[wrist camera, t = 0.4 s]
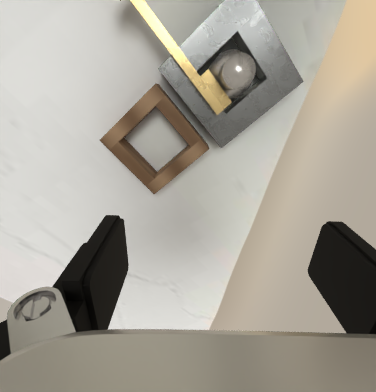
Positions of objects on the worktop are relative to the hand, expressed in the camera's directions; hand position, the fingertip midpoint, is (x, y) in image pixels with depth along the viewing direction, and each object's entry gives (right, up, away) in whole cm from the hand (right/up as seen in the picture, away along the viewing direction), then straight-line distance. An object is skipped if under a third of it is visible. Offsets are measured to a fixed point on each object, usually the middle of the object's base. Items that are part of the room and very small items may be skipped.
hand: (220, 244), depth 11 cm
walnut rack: (-7, +12, +27) cm, 30 cm away
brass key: (-3, +21, +18) cm, 28 cm away
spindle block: (+4, +20, +23) cm, 31 cm away
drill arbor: (+4, +20, +23) cm, 31 cm away
